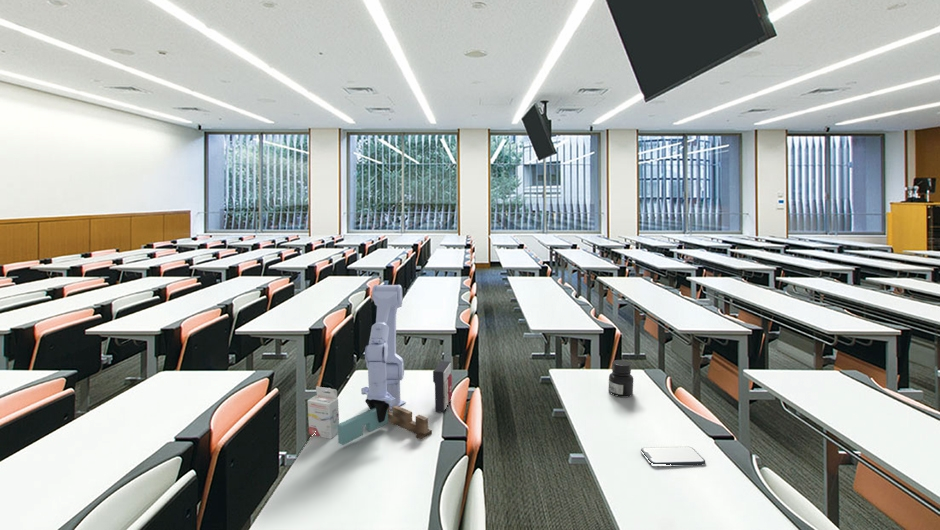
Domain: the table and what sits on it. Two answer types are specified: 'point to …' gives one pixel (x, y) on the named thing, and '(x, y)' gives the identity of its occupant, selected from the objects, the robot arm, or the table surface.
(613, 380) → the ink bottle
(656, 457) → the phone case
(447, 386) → the dark grey box
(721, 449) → the table surface
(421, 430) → the walnut stand
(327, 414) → the ink cartridge box
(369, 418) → the teal plate
